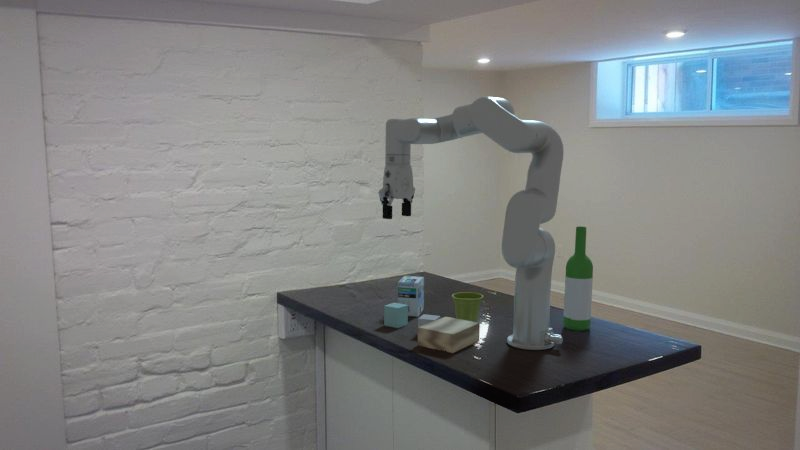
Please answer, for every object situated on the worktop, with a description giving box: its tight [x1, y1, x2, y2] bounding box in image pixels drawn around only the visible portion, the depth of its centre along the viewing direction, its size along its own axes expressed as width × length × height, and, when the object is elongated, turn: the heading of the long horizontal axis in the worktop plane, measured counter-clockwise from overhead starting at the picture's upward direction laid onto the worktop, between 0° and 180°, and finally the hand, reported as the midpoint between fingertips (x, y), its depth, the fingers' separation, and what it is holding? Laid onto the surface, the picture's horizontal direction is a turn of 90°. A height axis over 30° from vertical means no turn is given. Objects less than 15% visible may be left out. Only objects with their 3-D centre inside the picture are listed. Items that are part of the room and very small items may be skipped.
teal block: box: [383, 302, 409, 329], centre depth 209 cm, size 5×5×6 cm
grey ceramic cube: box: [417, 313, 441, 328], centre depth 200 cm, size 5×5×5 cm
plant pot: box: [451, 291, 484, 323], centre depth 211 cm, size 9×9×9 cm
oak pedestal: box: [417, 316, 481, 354], centre depth 191 cm, size 11×14×5 cm
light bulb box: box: [397, 275, 425, 318], centre depth 223 cm, size 11×7×11 cm, turn 168°
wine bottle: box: [562, 226, 594, 332], centre depth 206 cm, size 8×8×30 cm
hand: (397, 217), depth 213 cm, fingers open, 9 cm apart
